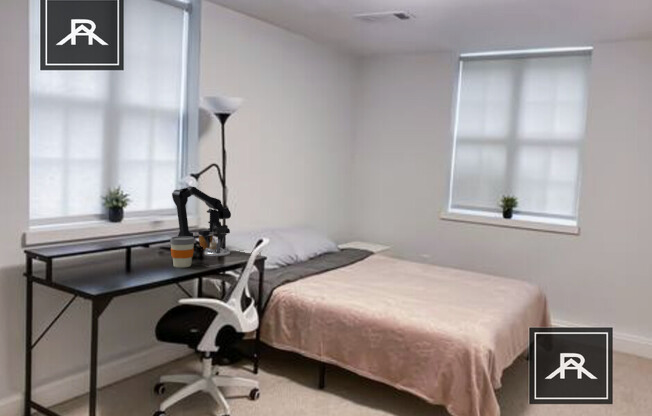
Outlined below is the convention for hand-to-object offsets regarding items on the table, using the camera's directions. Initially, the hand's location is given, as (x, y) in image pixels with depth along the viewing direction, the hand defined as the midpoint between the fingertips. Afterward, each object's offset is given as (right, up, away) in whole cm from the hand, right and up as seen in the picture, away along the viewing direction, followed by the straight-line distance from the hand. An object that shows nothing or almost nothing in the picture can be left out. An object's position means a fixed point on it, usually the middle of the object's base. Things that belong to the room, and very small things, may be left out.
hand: (214, 246), depth 314 cm
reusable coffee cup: (-10, -8, -32) cm, 34 cm away
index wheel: (+2, -4, -3) cm, 6 cm away
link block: (0, -2, 0) cm, 2 cm away
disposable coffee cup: (-8, -4, +13) cm, 16 cm away
